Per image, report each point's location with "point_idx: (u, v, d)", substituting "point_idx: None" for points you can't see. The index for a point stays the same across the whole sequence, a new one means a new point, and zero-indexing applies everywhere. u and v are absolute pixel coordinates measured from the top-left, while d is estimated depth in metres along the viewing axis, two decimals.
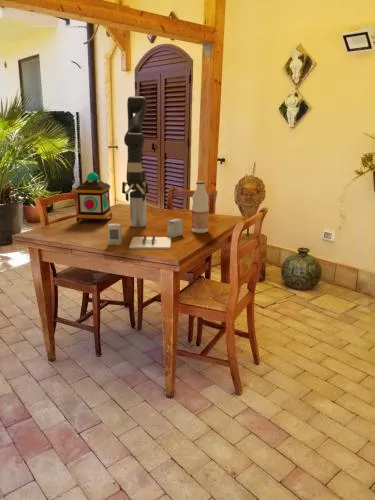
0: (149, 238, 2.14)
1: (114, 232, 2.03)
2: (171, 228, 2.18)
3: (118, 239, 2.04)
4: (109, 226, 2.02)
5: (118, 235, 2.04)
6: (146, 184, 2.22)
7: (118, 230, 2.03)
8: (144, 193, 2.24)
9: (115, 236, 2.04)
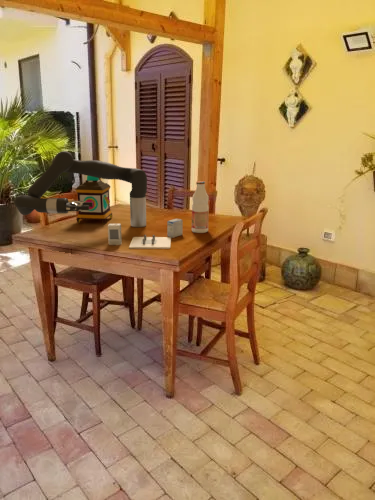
0: (149, 238, 2.14)
1: (114, 232, 2.03)
2: (171, 228, 2.18)
3: (118, 239, 2.04)
4: (109, 226, 2.02)
5: (118, 235, 2.04)
6: None
7: (118, 230, 2.03)
8: (79, 210, 1.97)
9: (115, 236, 2.04)
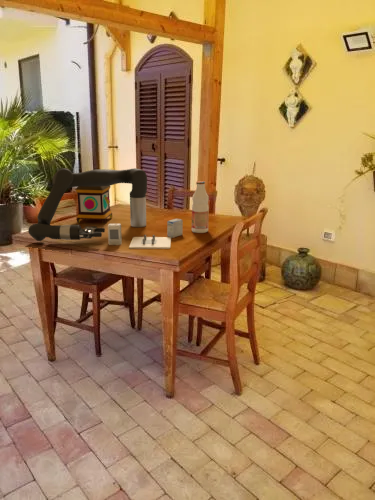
0: (149, 238, 2.14)
1: (114, 232, 2.03)
2: (171, 228, 2.18)
3: (118, 239, 2.04)
4: (109, 226, 2.02)
5: (118, 235, 2.04)
6: None
7: (118, 230, 2.03)
8: (92, 237, 2.01)
9: (115, 236, 2.04)
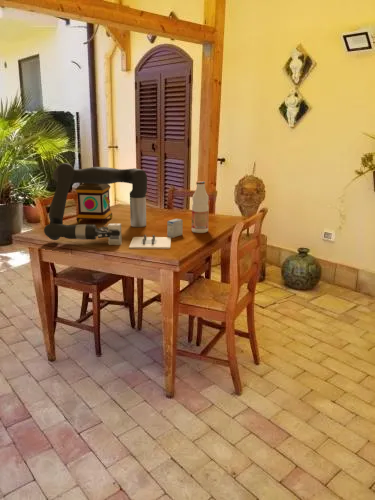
0: (149, 238, 2.14)
1: None
2: (171, 228, 2.18)
3: (118, 239, 2.04)
4: (109, 226, 2.02)
5: None
6: None
7: (118, 230, 2.03)
8: None
9: (115, 236, 2.04)
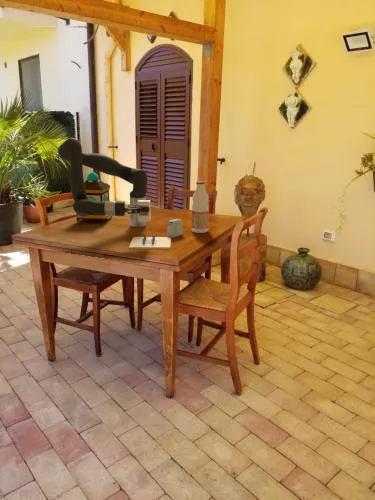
0: (149, 238, 2.14)
1: None
2: (171, 228, 2.18)
3: (147, 216, 2.02)
4: (139, 202, 2.00)
5: None
6: None
7: (148, 206, 2.01)
8: (140, 212, 2.00)
9: (145, 213, 2.02)
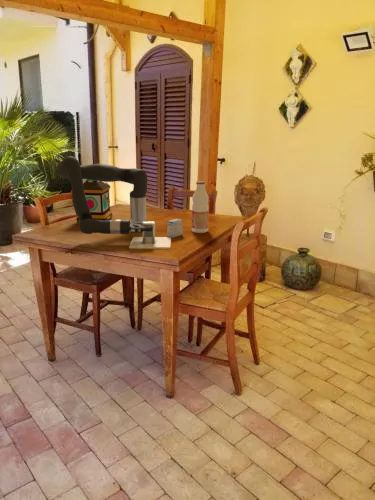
0: None
1: None
2: (171, 228, 2.18)
3: (152, 237, 2.06)
4: (144, 224, 2.03)
5: (152, 233, 2.05)
6: None
7: (152, 228, 2.04)
8: (143, 231, 2.02)
9: (150, 234, 2.05)
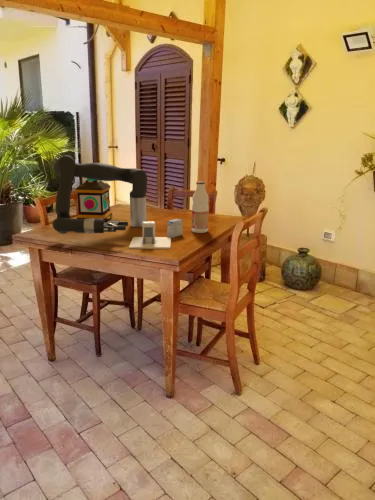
0: None
1: (149, 230, 2.04)
2: (171, 228, 2.18)
3: (152, 237, 2.06)
4: (144, 224, 2.03)
5: (152, 233, 2.05)
6: None
7: (152, 228, 2.04)
8: (116, 230, 2.01)
9: (150, 234, 2.05)
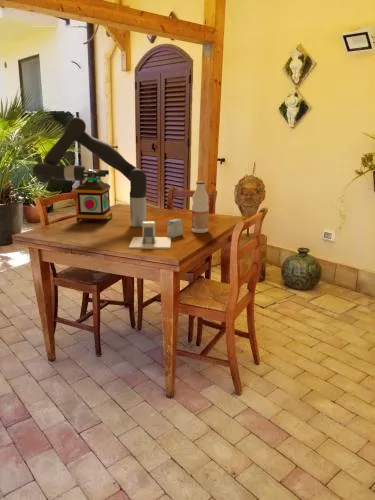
0: None
1: (149, 230, 2.04)
2: (171, 228, 2.18)
3: (152, 237, 2.06)
4: (144, 224, 2.03)
5: (152, 233, 2.05)
6: None
7: (152, 228, 2.04)
8: None
9: (150, 234, 2.05)
